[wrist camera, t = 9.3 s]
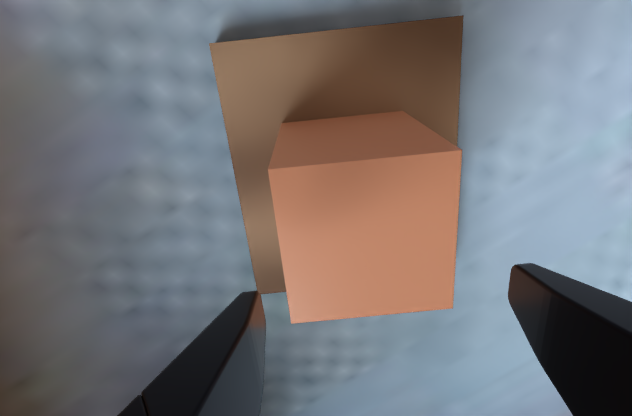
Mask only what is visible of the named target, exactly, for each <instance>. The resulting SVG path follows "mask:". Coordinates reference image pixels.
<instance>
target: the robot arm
mask: <svg viewBox="0 0 632 416" xmlns="http://www.w3.org/2000/svg"><path fill="white" fill-rule="evenodd" d="M508 299H509V303H510V305H511V307H512V309H513V311H514V313H515V315H516V317H517V319H518V321H519V323H520V325H521V327H522V329H523V331H524V333H525V335H526V337H527V339H528V341H529V343H530V345H531V347H532V349H533V351H534V353H535V355H536V357H537V359H538V361H539V362H540V364H541V366H542V367H543V369H544V371H545V372H546V374H547V375H548V377H549V378H550V380H551V382H552V383H553V385H554V386H555V388H556V389H557V391H558V392H559V394H560V396H561V397H562V399H563V400H564V402H565V403H566V405H567V407H568V408H569V410H570V411H571V413H572V414H573V416H632V302H630V301H628V300H625V299H623V298H620V297H618V296H615V295H612V294H610V293H607V292H605V291H602V290H600V289H597V288H594V287H592V286H589V285H587V284H584V283H582V282H579V281H577V280H574V279H571V278H569V277H566V276H564V275H561V274H559V273H556V272H553V271H551V270H548V269H546V268H543V267H541V266H538V265H535V264H533V263H526V264H517V265H514V266H513V267H512V269H511V274H510V282H509V290H508ZM265 337H266V322H265V315H264V310H263V305H262V300H261V295H260V293H259V292H258V291H250V292H242V293H241V294H240V295H239V296H238V297H237V298H236V299H235V300H234V301H233V302H232V303H231V304H230V305H229V306H228V307H227V308H226V309H225V310H224V311H223V312H222V313H221V314H220V315H219V316H218V317H216V318H215V319H214V320H213V321H212V322H211V323H210V324H209V325H208V326H207V327H206V328H205V329H204V330H203V331H202V332H201V333H200V334H199V335H198V336H197V337H196V338H195V339H194V340H193V341H192V342H191V343H190V344H189V345H188V346H187V347H186V348H185V349H184V350H183V351H182V352H181V353H180V354H179V355H178V356H177V357H176V358H175V359H174V360H173V361H172V362H171V363H170V364H169V365H168V366H167V367H166V368H165V369H164V370H163V371H162V372H161V373H160V374H159V375H158V376H157V377H156V378H155V379H154V380H153V381H152V382H151V383H150V384H149V385H148V386H147V387H146V388H145V389H144V390H143V391H142V393H141V395H142V396H141V395H138V396H137V397H136V398H135V399H134V400H133V401H132V402H131V403H130V404H129V405H128V406H127V407H126V408H125V409H124V410H123V411H122V412H121V413H120V414H119V415H118V416H259V413H260V407H261V401H262V394H263V383H264V362H265Z"/></svg>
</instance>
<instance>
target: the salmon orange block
mask: <svg viewBox="0 0 632 416" xmlns="http://www.w3.org/2000/svg"><path fill="white" fill-rule="evenodd" d="M461 160H462V150H461V149H460V148H458V147H457V146H455V145H454V144H452V143H451V142H449V141H448V140H446V139H444V138H443V137H441V136H440V135H438V134H437V133H435V132H434V131H432V130H431V129H429V128H428V127H426V126H425V125H423V124H422V123H420V122H419V121H417V120H416V119H414V118H413V117H411V116H410V115H408V114H407V113H405V112H404V111H396V112H386V113H377V114H367V115H357V116H347V117H337V118H327V119H318V120H308V121H298V122H288V123H281V127H280V130H279V133H278V137H277V140H276V144H275V147H274V150H273V154H272V157H271V161H270V164H269V167H268V174H269V181H270V187H271V194H272V200H273V207H274V213H275V220H276V227H277V233H278V240H279V246H280V253H281V259H282V266H283V272H284V279H285V286H286V292H287V299H288V305H289V312H290V318H291V324H293V323H304V322H314V321H325V320H335V319H346V318H356V317H367V316H377V315H388V314H398V313H409V312H419V311H430V310H440V309H451V308H453V295H454V278H455V261H456V244H457V227H458V210H459V194H460V177H461Z"/></svg>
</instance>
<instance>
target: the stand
mask: <svg viewBox="0 0 632 416" xmlns="http://www.w3.org/2000/svg"><path fill="white" fill-rule="evenodd" d="M462 32H463V16H455V17H446V18H436V19H427V20H418V21H409V22H400V23H391V24H382V25H373V26H364V27H355V28H346V29H336V30H327V31H318V32H309V33H300V34H291V35H282V36H273V37H264V38H255V39H246V40H237V41H227V42H218V43H209V46H210V51H211V56H212V61H213V66H214V71H215V76H216V81H217V87H218V92H219V97H220V102H221V107H222V112H223V117H224V122H225V128H226V133H227V138H228V143H229V148H230V153H231V158H232V163H233V169H234V174H235V179H236V184H237V189H238V194H239V199H240V204H241V210H242V215H243V220H244V225H245V230H246V235H247V240H248V245H249V251H250V256H251V261H252V266H253V271H254V276H255V281H256V286H257V291H258V292H259V293H260V294H268V293H278V292H286V286H285V279H284V272H283V266H282V259H281V253H280V246H279V240H278V233H277V227H276V220H275V213H274V207H273V200H272V194H271V187H270V181H269V174H268V167H269V164H270V161H271V157H272V154H273V150H274V147H275V144H276V140H277V137H278V133H279V130H280V127H281V123H288V122H298V121H308V120H318V119H327V118H337V117H347V116H357V115H367V114H377V113H386V112H396V111H404V112H405V113H407V114H408V115H410V116H411V117H413V118H414V119H416V120H417V121H419V122H420V123H422V124H423V125H425V126H426V127H428V128H429V129H431V130H432V131H434V132H435V133H437V134H438V135H440V136H441V137H443V138H444V139H446V140H448V141H449V142H451V143H452V144H454V145H455V146H457V135H458V115H459V94H460V73H461V53H462Z"/></svg>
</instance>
